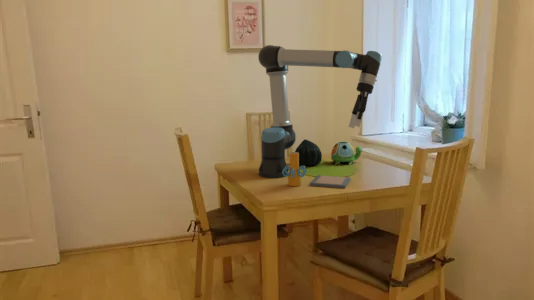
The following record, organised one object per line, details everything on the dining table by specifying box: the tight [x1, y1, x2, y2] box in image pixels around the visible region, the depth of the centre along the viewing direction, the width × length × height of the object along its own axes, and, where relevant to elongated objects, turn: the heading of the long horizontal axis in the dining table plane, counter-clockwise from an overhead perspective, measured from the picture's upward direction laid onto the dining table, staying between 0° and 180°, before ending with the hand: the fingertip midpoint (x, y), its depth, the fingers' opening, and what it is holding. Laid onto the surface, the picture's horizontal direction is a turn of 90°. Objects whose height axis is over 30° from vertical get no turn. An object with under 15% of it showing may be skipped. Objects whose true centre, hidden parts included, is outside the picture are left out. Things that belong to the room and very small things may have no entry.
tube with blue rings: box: [282, 151, 307, 187], centre depth 193 cm, size 12×10×15 cm
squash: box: [294, 139, 323, 167], centre depth 237 cm, size 14×15×15 cm
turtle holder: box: [330, 141, 363, 165], centre depth 242 cm, size 12×18×12 cm
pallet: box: [309, 175, 352, 189], centre depth 198 cm, size 16×16×1 cm
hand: (353, 127), depth 202 cm, fingers open, 13 cm apart
